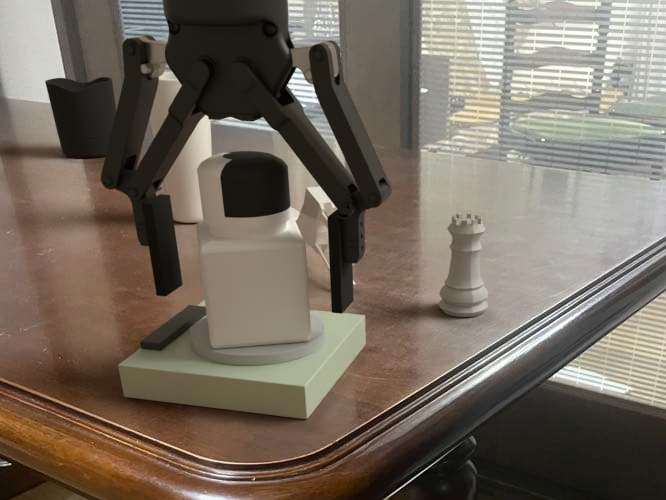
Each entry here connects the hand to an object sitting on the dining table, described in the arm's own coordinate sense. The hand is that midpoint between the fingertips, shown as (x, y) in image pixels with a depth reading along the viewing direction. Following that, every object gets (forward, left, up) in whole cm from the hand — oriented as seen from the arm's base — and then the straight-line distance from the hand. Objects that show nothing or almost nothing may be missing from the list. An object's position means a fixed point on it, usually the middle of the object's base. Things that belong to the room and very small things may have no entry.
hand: (254, 298), depth 64 cm
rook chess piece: (+12, +17, -6) cm, 22 cm away
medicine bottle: (0, 0, -2) cm, 2 cm away
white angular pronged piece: (-5, +26, -6) cm, 27 cm away
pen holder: (-57, +70, -6) cm, 90 cm away
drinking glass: (-25, +39, -6) cm, 47 cm away
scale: (-1, 0, -6) cm, 6 cm away
